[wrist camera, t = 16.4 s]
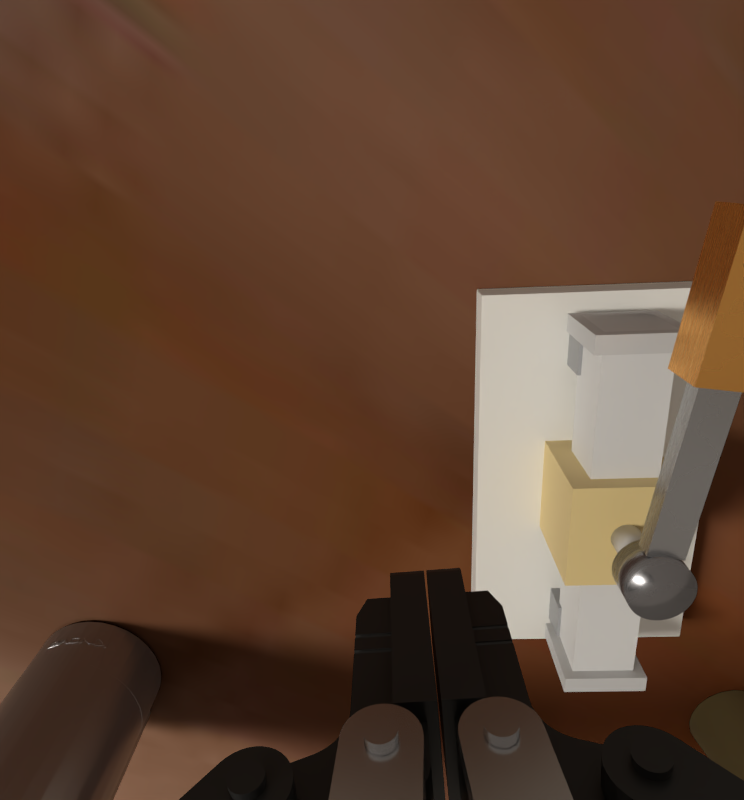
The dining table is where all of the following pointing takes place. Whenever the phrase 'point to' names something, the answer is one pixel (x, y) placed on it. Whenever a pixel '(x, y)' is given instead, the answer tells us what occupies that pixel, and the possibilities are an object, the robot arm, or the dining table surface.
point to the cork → (721, 729)
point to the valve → (572, 463)
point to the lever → (692, 424)
